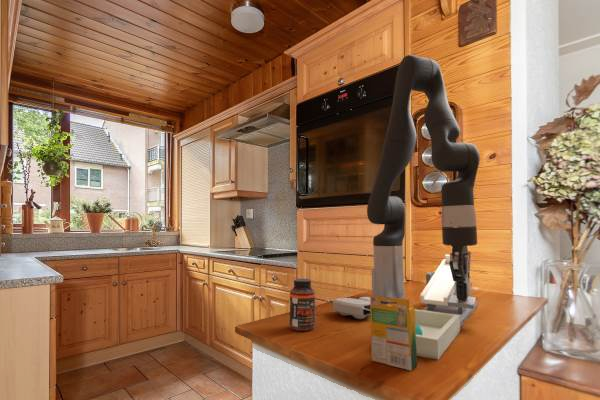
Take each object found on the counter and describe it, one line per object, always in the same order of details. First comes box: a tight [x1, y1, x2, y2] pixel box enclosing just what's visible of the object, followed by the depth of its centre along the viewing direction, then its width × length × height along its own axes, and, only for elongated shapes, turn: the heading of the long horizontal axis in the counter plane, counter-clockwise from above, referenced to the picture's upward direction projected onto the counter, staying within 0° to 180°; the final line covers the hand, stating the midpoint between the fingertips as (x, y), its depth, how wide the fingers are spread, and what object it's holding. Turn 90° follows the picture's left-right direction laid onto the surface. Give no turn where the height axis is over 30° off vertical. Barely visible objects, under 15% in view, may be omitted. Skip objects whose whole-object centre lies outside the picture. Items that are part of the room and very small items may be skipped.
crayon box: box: [369, 294, 418, 372], centre depth 61 cm, size 7×3×12 cm, turn 52°
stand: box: [421, 271, 478, 328], centre depth 93 cm, size 11×27×10 cm, turn 145°
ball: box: [416, 324, 423, 335], centre depth 69 cm, size 4×4×4 cm
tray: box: [415, 308, 461, 360], centre depth 73 cm, size 12×20×4 cm, turn 145°
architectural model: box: [453, 276, 480, 297], centre depth 113 cm, size 3×7×7 cm, turn 42°
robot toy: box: [326, 296, 390, 320], centre depth 93 cm, size 12×4×15 cm
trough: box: [419, 254, 477, 309], centre depth 92 cm, size 12×26×6 cm, turn 145°
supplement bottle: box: [289, 278, 316, 332], centre depth 82 cm, size 6×6×11 cm
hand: (462, 298), depth 81 cm, fingers closed
